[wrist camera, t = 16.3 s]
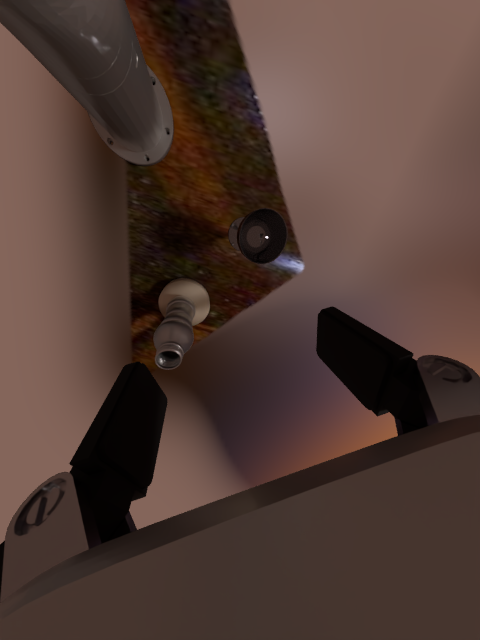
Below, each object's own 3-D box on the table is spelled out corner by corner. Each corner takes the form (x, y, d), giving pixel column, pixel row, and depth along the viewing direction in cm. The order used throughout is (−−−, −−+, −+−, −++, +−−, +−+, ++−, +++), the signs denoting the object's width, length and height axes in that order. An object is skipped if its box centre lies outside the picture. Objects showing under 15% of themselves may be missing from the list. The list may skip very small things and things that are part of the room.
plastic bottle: (162, 306, 41) (132, 363, 23) (181, 286, 39) (164, 332, 22) (183, 322, 44) (171, 383, 26) (202, 304, 42) (201, 356, 25)
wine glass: (245, 206, 37) (269, 194, 24) (266, 236, 41) (296, 240, 28) (219, 232, 38) (228, 235, 25) (241, 260, 42) (259, 273, 29)
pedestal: (152, 284, 41) (149, 288, 38) (201, 272, 42) (201, 275, 39) (172, 326, 47) (170, 331, 44) (214, 314, 48) (215, 319, 45)
